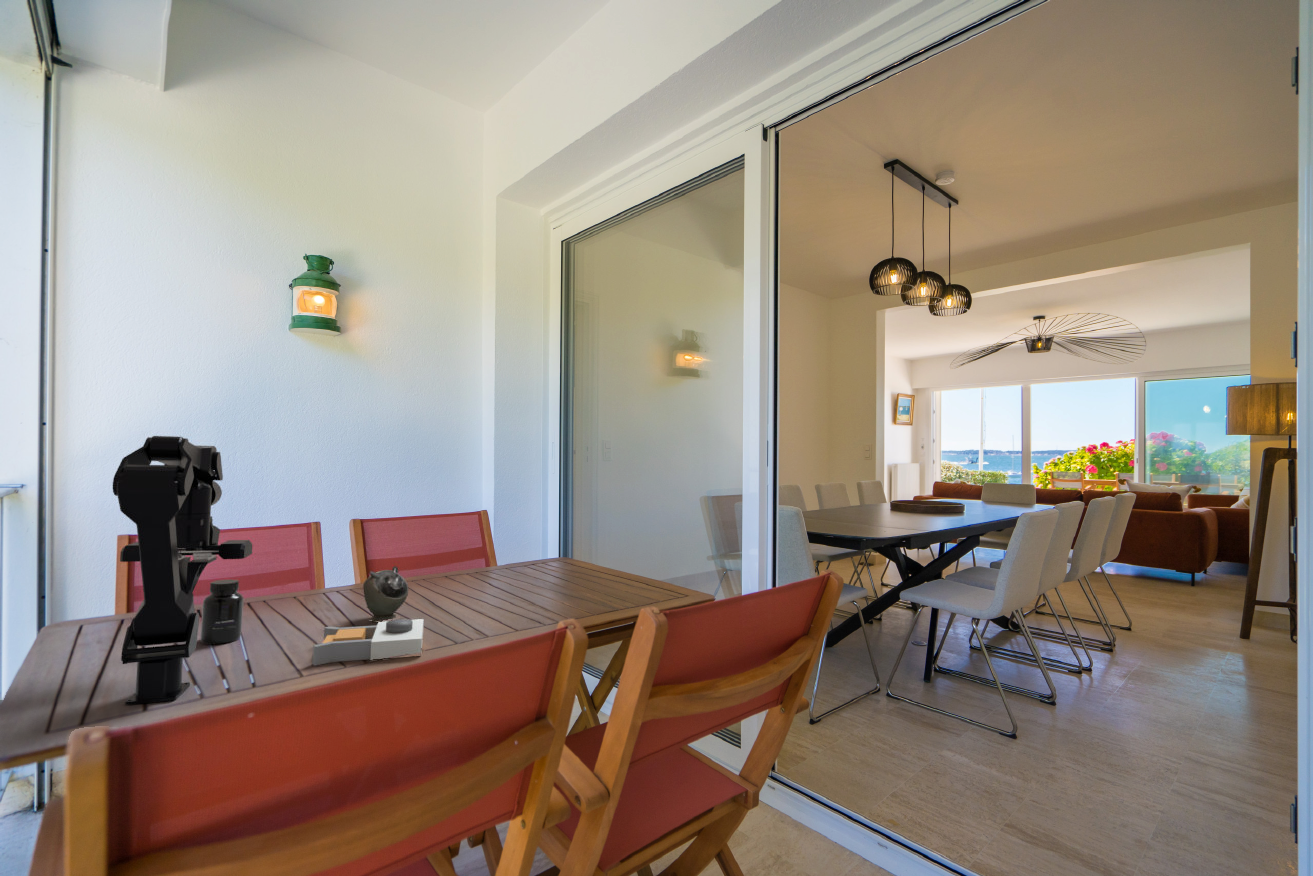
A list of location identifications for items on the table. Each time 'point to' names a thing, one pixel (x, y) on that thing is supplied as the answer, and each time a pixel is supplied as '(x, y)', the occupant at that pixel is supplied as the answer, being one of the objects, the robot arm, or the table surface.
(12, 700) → the table surface
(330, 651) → the forked block with knob
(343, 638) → the orange stepped block
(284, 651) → the table surface
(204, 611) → the supplement bottle
